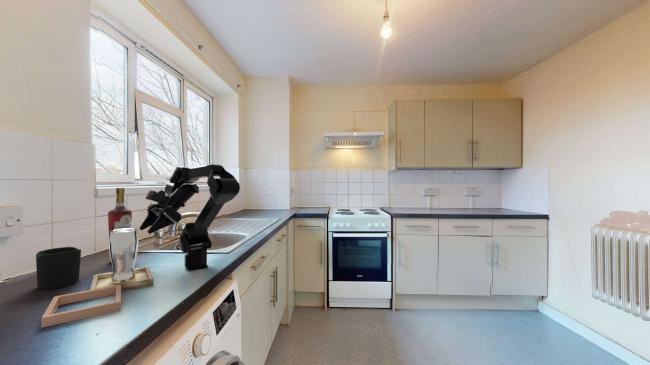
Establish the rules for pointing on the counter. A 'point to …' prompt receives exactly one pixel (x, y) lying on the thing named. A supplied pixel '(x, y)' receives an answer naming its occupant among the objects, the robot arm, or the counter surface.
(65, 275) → the pen holder
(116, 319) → the counter surface
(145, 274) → the tray
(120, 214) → the red and white bottle
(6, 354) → the counter surface
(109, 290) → the brown square frame
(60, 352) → the counter surface
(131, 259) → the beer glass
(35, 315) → the counter surface
